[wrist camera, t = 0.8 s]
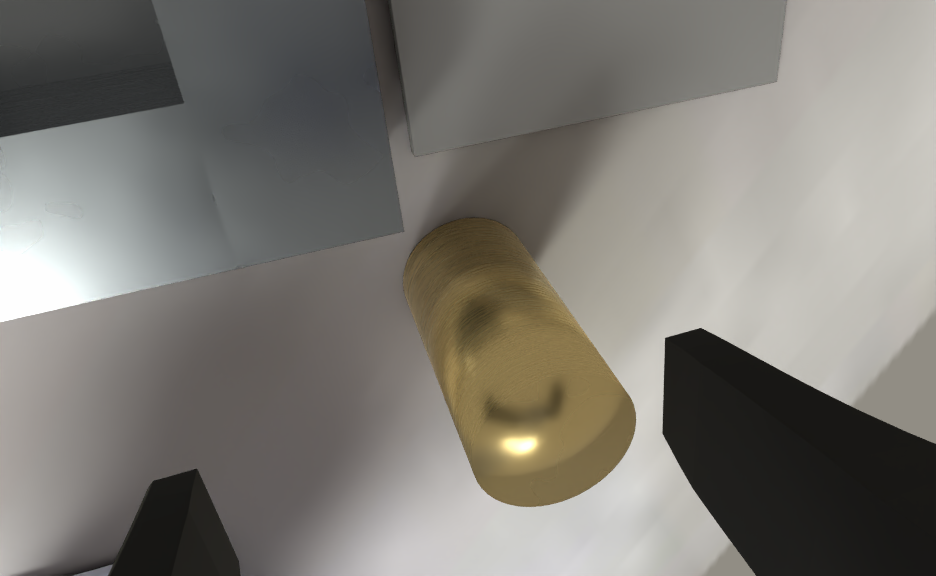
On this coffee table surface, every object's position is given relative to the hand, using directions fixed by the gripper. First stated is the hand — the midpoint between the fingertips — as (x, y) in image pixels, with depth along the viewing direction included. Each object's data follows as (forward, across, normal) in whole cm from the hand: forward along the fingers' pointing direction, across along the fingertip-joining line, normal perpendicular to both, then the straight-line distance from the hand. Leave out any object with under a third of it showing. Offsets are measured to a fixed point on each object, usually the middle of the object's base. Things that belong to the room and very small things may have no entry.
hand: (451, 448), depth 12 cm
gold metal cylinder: (+10, -2, +3) cm, 10 cm away
